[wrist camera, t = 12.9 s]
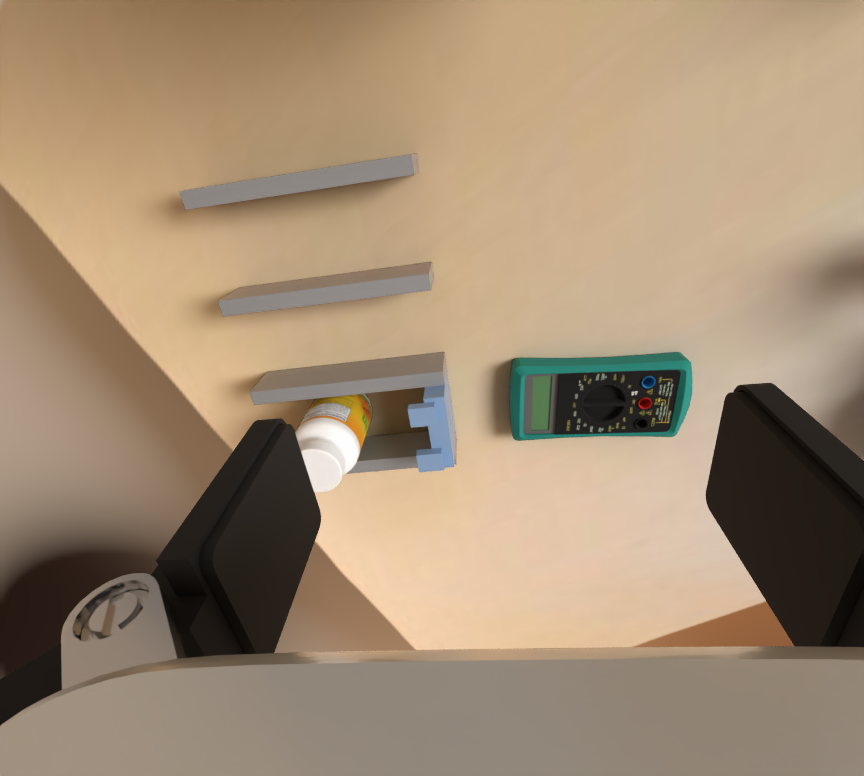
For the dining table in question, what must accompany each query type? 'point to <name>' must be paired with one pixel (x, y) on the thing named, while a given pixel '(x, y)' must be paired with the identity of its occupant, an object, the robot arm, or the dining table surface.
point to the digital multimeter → (599, 396)
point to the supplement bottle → (333, 437)
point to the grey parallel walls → (362, 376)
